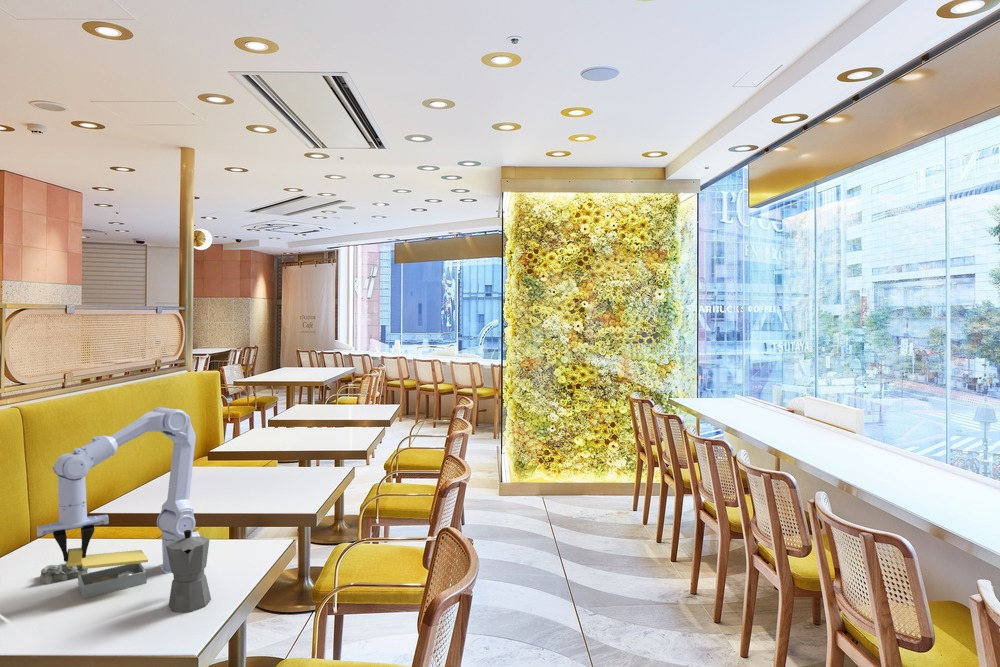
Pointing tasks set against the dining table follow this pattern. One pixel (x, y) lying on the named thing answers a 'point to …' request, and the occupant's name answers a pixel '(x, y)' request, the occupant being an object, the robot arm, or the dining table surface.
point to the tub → (111, 580)
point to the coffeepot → (188, 573)
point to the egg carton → (60, 573)
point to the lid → (104, 558)
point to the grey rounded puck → (125, 573)
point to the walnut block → (100, 579)
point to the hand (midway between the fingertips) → (74, 558)
